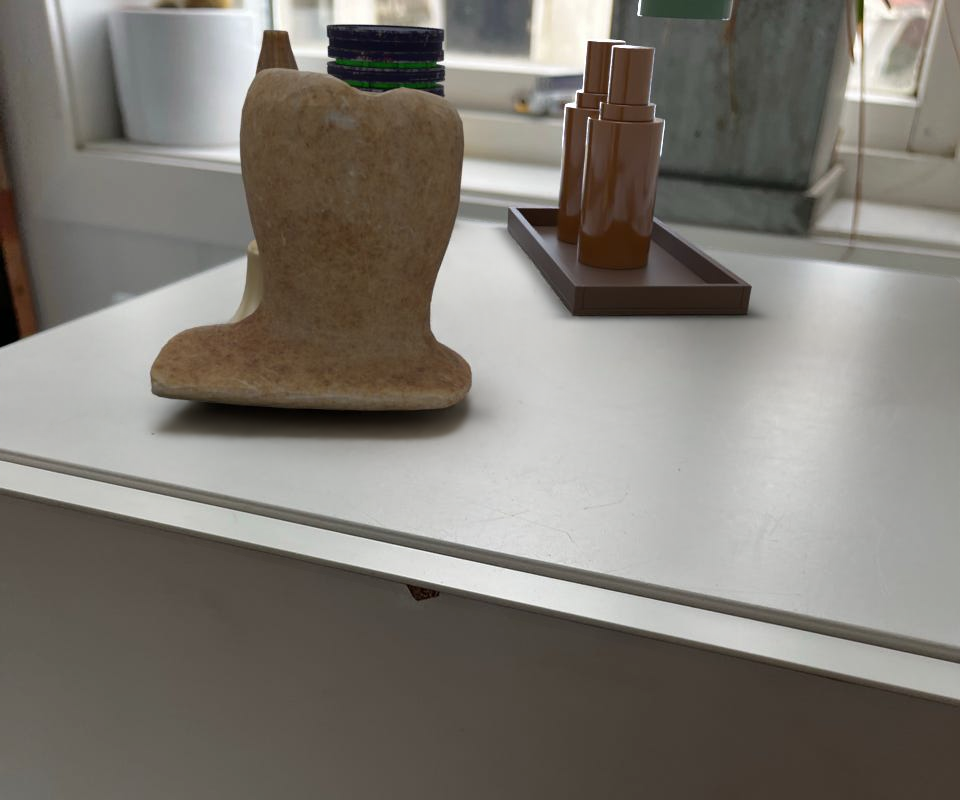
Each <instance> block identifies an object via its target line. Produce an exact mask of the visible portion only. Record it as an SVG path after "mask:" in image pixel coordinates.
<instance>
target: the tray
mask: <svg viewBox="0 0 960 800" xmlns="http://www.w3.org/2000/svg"><path fill="white" fill-rule="evenodd" d="M557 214H558V206H508V207H507V227H506V229H507V231H508V232H509V233H510V235H511V236H512V238H513V239H514V240H515V242H517V244H518V245H519V247H520V248H521V249H522V250H523V252H524V253H525V254H526V256H527V257H528V258H529V260H530V261H531V262H532V264H533V265H534V266H535V268H536V269H537V270H538V271H539V273H540V274H541V276H542V277H543V278H544V279H545V281H546V282H547V283H548V284H549V286H550V287H551V288H552V290H553V291H554V293H556V295H557V296H558V297H559V299H560V300H561V301H562V302H563V304H564V305H565V307H566V308H567V309H568V310H569V312H570V313H571V314H572V315H573V316H654V315H655V316H666V315H667V316H668V315H669V316H673V315H675V316H676V315H687V316H689V315H694V316H695V315H697V316H698V315H748V312H749V305H750V301H751V300H750V299H751V293H752V289H753V286H752V285H751V284H750V283H748V282H747V281H745V280H744V279H743V278H741V277H740V276H738V275H737V274H736V273H734V272H733V271H731V270H730V269H729V268H727V267H726V266H725V265H723V264H722V263H720V262H719V261H718V260H716V259H715V258H714V257H712V256H711V255H709V254H708V253H706V252H705V251H704V250H702V249H701V248H699V247H698V246H696V245H695V244H693V242H691V241H689V240H688V239H687V238H685V237H683V235H681V234H679V233H678V232H677V231H675V230H674V229H672V228H671V227H670V226H668V225H666V224H665V223H664V222H662V221H661V220H660V219H658V218H657V217H655V216H654V217H653V225H652V233H651V242H650V250H649V258H648V264H647V265H646V266H644V267H641V268H636V269H622V270H619V269H604V268H597V267H592V266H588V265H585V264H582V263H580V262H578V261H577V258H576V257H577V244H571V243H566V242H563V241H560V240H559V239H557V238H556V228H557Z"/></svg>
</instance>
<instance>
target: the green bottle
mask: <svg viewBox="0 0 960 800" xmlns="http://www.w3.org/2000/svg"><path fill="white" fill-rule="evenodd" d="M733 3H734V0H639V1H638V10H637V16H638V17H639V16H640V17H648V18H649V17H650V18H664V19H665V18H666V19H683V20H684V19H688V20H712V21H715V20H716V21H718V20H719V21H721V20H722V21H728V20H731V17H732V9H733Z"/></svg>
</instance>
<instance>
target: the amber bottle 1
mask: <svg viewBox="0 0 960 800" xmlns="http://www.w3.org/2000/svg"><path fill="white" fill-rule="evenodd" d="M613 46H626V41H624V40H618V39H617V40H616V39H596V38H595V39H586V44H585V57H584V67H583V69H584V70H583V82H582V89H578V90H576V91H575V92H576V93H575V102H570V103H566V104H565V105H564V116H563V131H562V142H561V143H562V144H561V145H562V146H561V159H560V172H559V173H560V174H559V188H558V199H557V201H558V202H557V207H558V214H557V228H556V238H557V239H559V240H560V241H563V242H566V243H571V244H577V245H578V233H579V221H580V208H581V196H582V184H583V172H584V160H585V148H586V136H587V123H588V117H589V116H591V115H597V114H599V111H600V102H601V101H605V100H607V99H608V88H609V77H610V66H611V55H612V47H613Z"/></svg>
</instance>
